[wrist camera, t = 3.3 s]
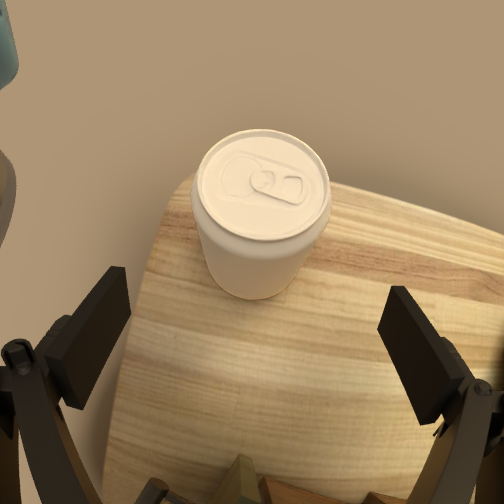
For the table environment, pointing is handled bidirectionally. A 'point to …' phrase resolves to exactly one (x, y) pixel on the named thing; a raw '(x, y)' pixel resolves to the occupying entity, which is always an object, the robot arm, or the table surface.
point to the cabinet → (382, 499)
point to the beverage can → (259, 210)
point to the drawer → (238, 490)
